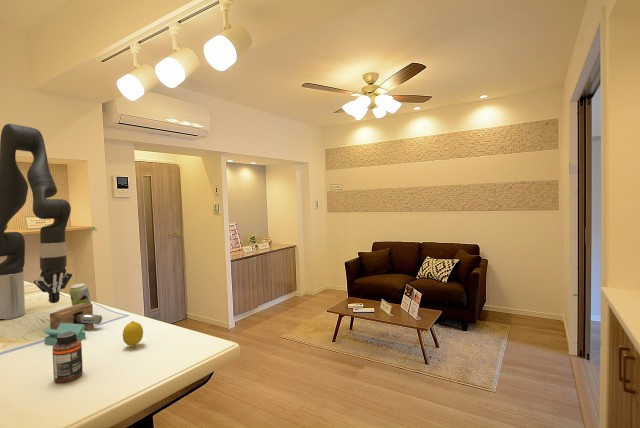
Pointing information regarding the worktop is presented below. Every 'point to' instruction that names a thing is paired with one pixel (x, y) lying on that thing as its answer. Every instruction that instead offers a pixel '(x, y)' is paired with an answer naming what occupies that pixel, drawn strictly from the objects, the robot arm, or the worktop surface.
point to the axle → (87, 318)
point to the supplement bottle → (67, 357)
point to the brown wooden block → (71, 315)
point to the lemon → (132, 333)
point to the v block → (64, 328)
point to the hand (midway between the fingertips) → (54, 302)
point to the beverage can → (79, 294)
